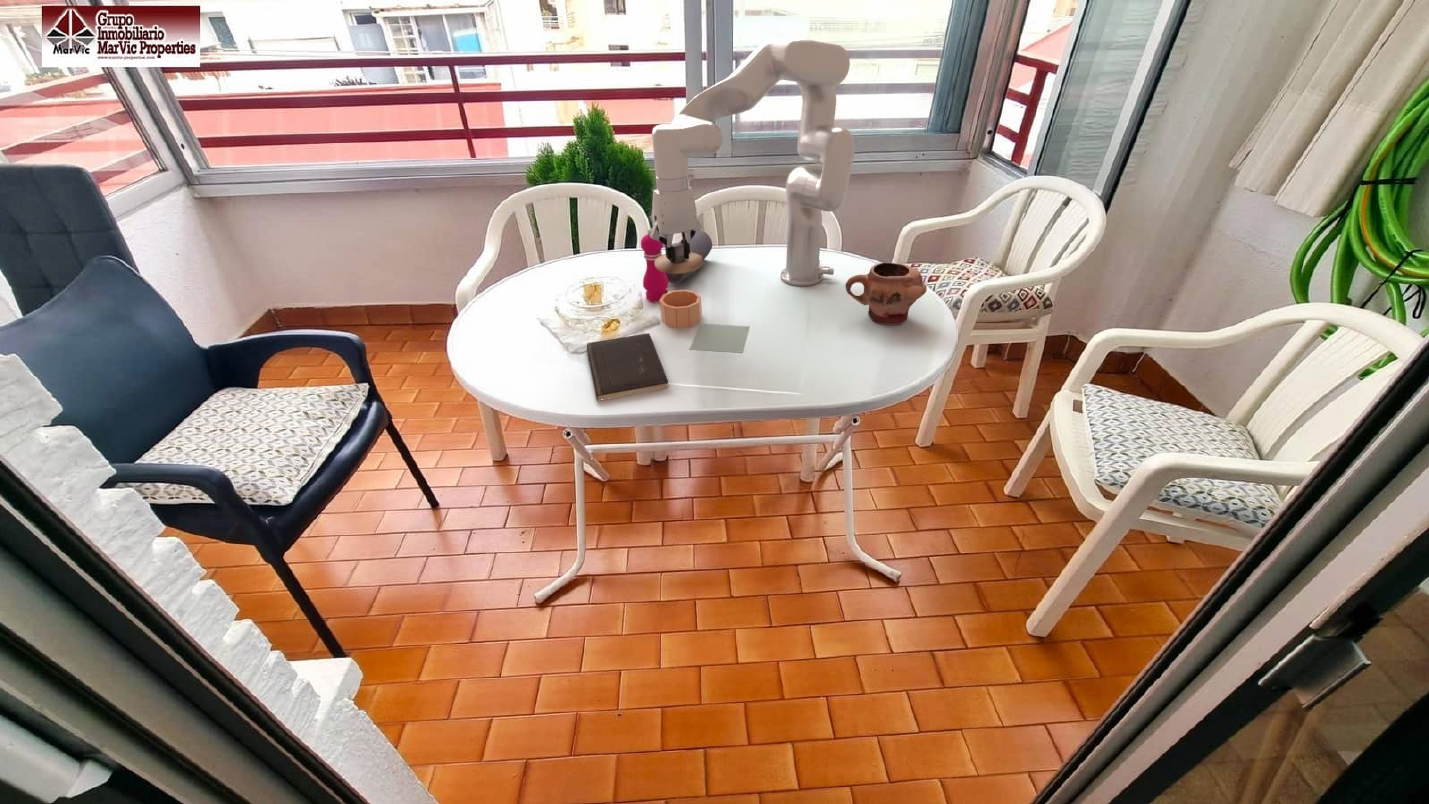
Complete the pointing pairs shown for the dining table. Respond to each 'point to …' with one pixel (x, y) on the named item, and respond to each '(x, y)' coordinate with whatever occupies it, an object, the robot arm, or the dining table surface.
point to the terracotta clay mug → (889, 291)
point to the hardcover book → (625, 366)
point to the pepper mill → (653, 269)
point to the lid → (679, 261)
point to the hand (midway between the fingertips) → (678, 258)
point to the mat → (720, 338)
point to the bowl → (681, 308)
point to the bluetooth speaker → (699, 246)
